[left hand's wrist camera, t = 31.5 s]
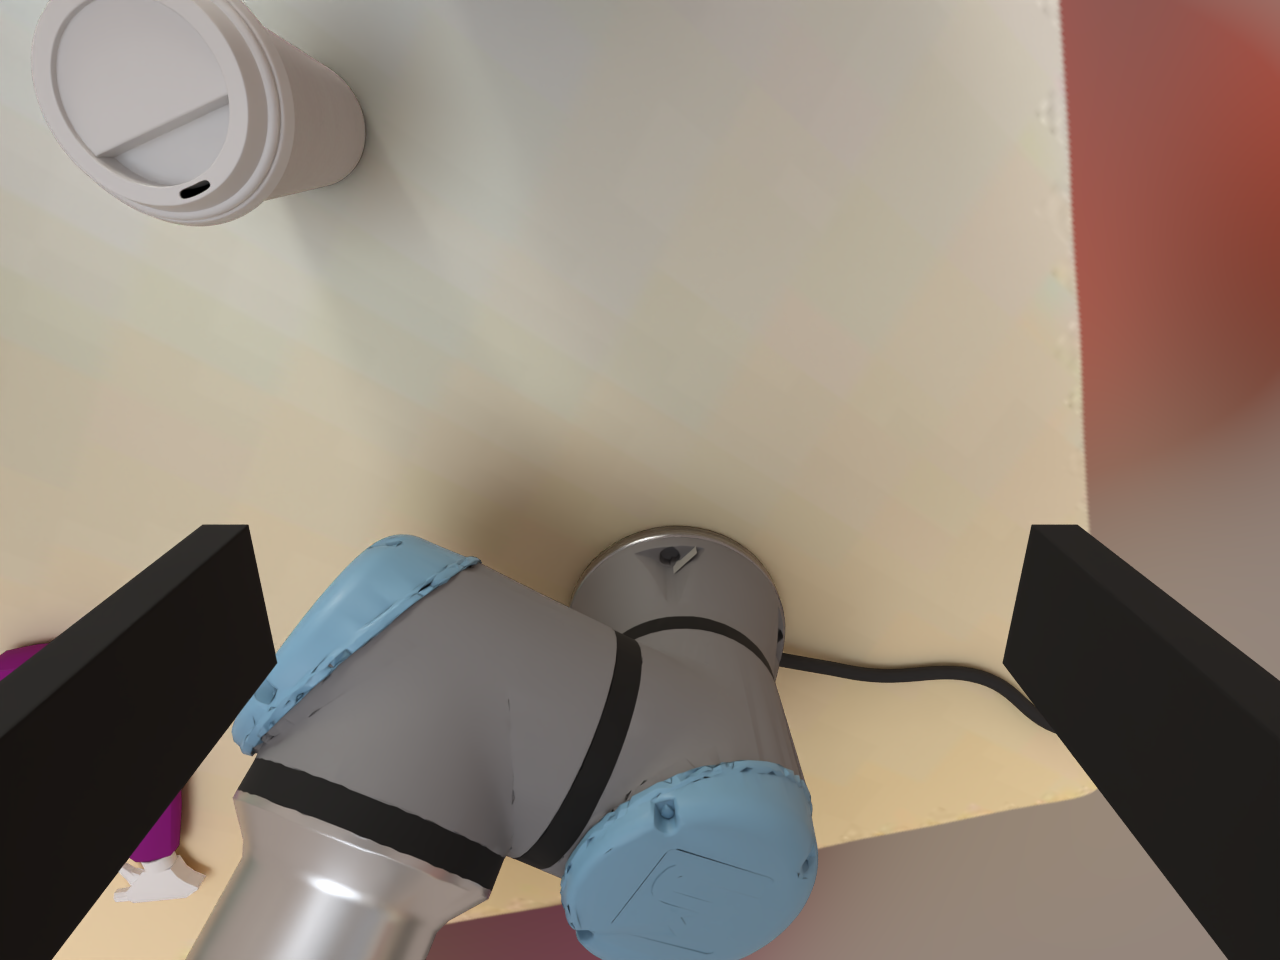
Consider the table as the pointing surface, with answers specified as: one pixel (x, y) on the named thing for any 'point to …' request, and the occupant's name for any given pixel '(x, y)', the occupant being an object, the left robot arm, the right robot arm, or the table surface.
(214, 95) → the coffee cup
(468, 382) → the table surface
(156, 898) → the spray bottle
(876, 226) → the table surface
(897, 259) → the table surface
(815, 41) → the table surface
